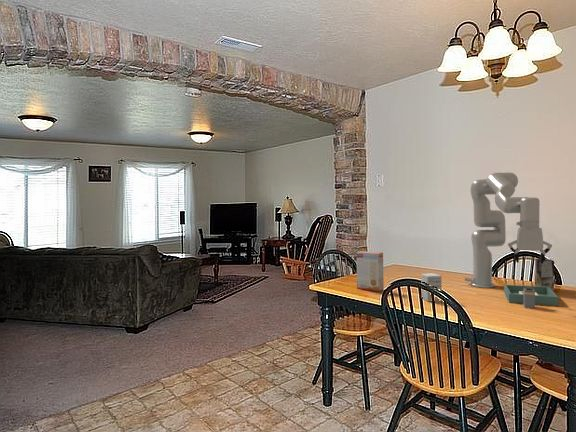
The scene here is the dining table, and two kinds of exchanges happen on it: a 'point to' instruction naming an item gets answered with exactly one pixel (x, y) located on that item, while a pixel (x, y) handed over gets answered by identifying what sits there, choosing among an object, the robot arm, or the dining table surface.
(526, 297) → the connector
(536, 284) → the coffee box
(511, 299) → the walled box
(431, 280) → the supplement box
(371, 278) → the cracker box
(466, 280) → the robot arm
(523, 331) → the dining table surface
